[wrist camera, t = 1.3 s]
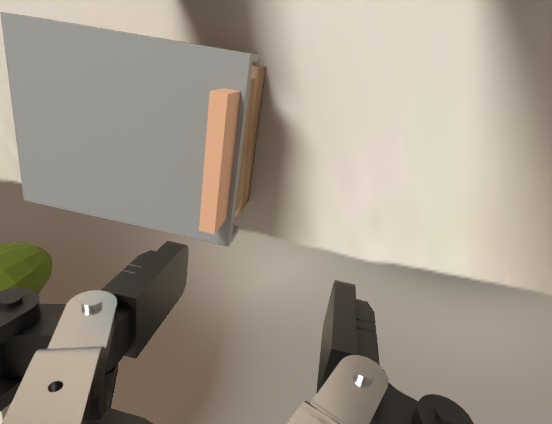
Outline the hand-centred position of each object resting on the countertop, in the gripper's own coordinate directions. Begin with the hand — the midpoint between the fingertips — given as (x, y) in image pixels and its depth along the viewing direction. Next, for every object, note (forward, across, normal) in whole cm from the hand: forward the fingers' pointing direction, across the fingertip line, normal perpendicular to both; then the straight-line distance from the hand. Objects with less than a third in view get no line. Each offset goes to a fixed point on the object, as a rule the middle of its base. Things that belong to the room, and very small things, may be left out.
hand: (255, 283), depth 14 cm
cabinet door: (+18, +14, 0) cm, 23 cm away
